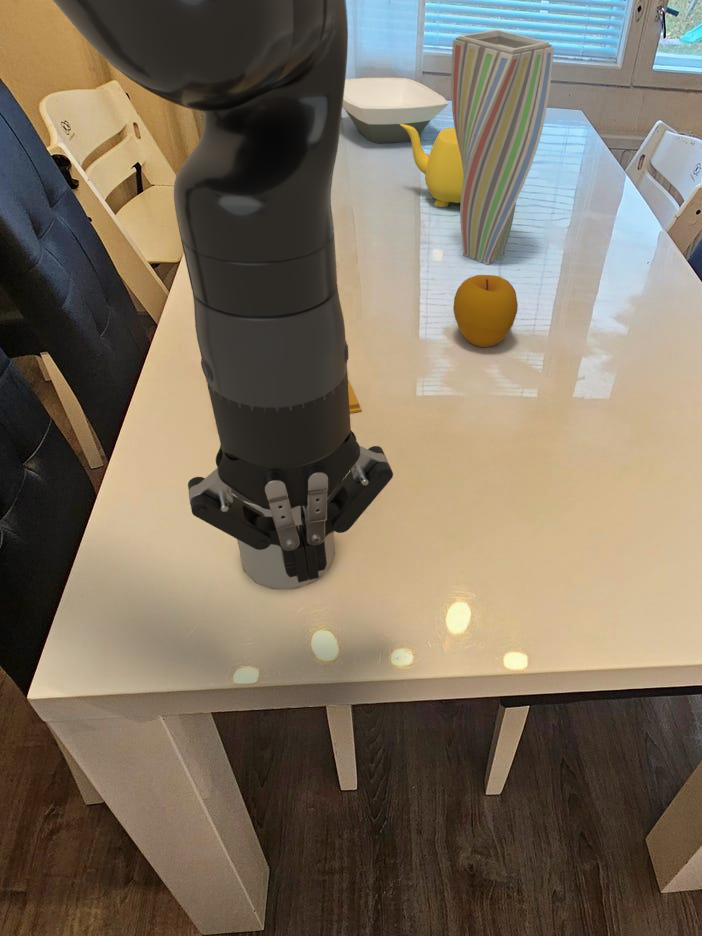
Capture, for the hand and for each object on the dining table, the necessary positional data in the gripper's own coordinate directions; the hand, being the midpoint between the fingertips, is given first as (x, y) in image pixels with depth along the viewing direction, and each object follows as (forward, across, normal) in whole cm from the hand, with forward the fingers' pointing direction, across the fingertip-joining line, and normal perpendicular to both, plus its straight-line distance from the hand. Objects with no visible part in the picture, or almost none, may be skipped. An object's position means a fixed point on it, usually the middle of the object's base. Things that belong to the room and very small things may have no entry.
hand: (305, 571), depth 50 cm
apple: (+11, -32, -44) cm, 55 cm away
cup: (+11, 0, -12) cm, 16 cm away
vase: (+11, -42, -69) cm, 81 cm away
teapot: (+11, -45, -93) cm, 104 cm away
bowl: (+11, -43, -131) cm, 138 cm away
